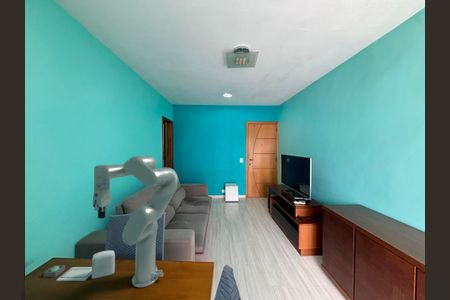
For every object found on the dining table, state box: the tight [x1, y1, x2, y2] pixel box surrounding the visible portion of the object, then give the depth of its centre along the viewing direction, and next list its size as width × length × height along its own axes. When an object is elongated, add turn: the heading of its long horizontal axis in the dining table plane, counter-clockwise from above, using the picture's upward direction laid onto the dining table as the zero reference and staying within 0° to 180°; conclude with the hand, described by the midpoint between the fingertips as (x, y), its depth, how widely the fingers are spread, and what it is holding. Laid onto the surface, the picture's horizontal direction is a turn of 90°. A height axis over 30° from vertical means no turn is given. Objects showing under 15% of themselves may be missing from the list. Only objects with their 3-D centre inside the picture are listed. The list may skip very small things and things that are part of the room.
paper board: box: [56, 266, 92, 282], centre depth 97 cm, size 14×10×1 cm
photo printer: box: [91, 250, 116, 280], centre depth 97 cm, size 10×4×12 cm, turn 116°
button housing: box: [43, 264, 66, 278], centre depth 98 cm, size 6×6×2 cm
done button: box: [49, 266, 59, 272], centre depth 98 cm, size 4×4×2 cm
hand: (101, 217), depth 106 cm, fingers closed
